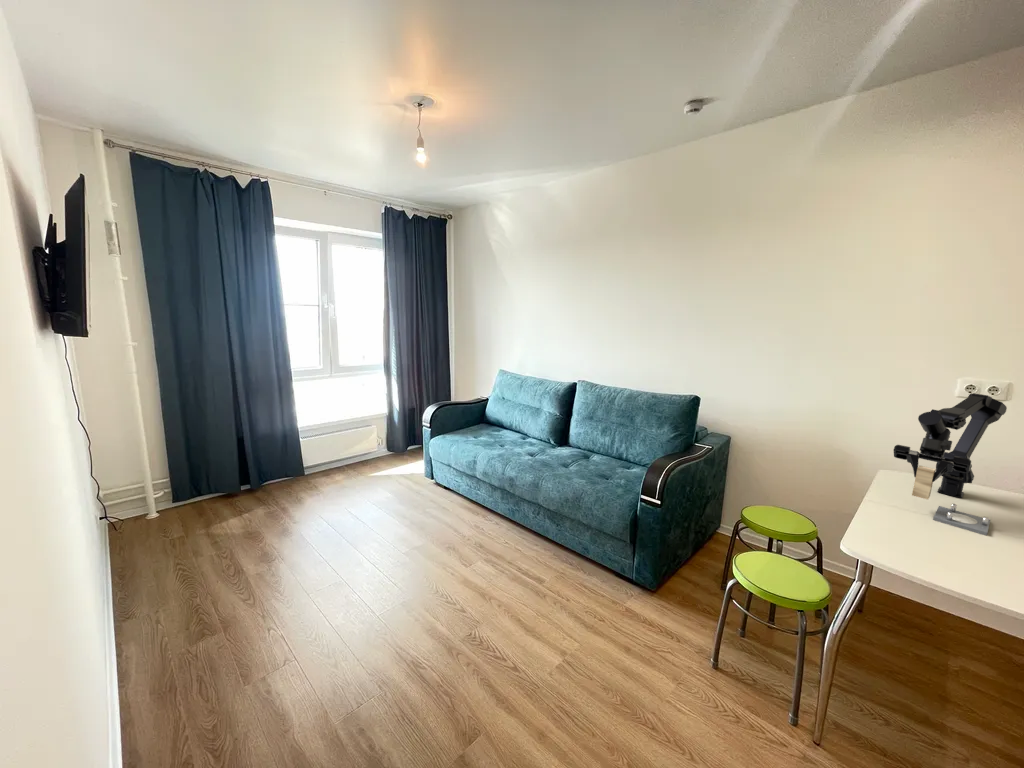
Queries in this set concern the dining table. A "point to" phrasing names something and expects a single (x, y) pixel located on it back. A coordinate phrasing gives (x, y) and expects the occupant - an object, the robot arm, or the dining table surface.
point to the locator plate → (962, 519)
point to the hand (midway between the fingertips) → (923, 479)
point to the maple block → (923, 482)
